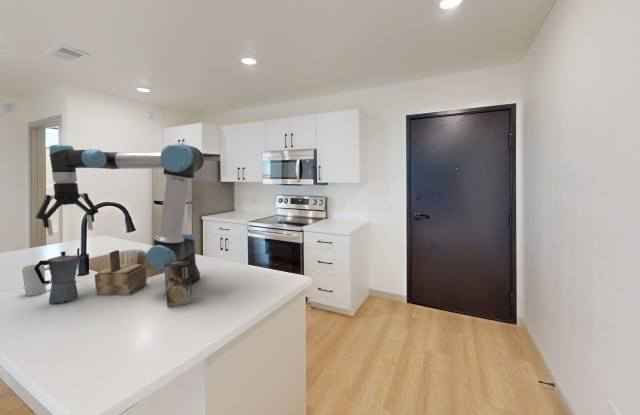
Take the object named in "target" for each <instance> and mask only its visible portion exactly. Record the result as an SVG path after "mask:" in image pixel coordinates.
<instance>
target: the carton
mask: <svg viewBox="0 0 640 415" xmlns="http://www.w3.org/2000/svg"><path fill="white" fill-rule="evenodd" d="M94 281H95V282H94V283H95V284H94V285H95V291H96V292H95V293H96V296H130V295H132V294H133V293H135V292H137V291H138V290H140V289H142V288H144V285H145V286H146V285H147V282H148V281H147V267H146V265H143V266H141V267H139V268H137V269H135V270H133V271H131V272H129V273H124V274H97V273H95V274H94ZM141 287H142V288H141ZM139 288H140V289H139Z"/></svg>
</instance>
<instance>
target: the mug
mask: <svg viewBox="0 0 640 415" xmlns="http://www.w3.org/2000/svg"><path fill="white" fill-rule="evenodd" d="M37 264H38V263H36V264H30V265H26V266H22V267H21V270H22V271H21V272H22V273H21V274H22V278H23V287H24V291H25V296H28V297H34V296H37V295H38V296H39V295H41V294H42V295H43V294H44V293H46V292H47V288H46V287H47V286H48V285H52V278H50V279H49V280H48V281H50V282H49V283H46V284H42V282H41V281H40V279H39V277H38V275H37V273H36V271H35V270H34V267H35V266H36V265H37ZM39 269H40V272H41V274H42V276H43V279H44V280H45V281H46V274H45V272H46V271H50V268H49V265H47V267H46V266H45V265H41V266H40V267H39Z"/></svg>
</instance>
